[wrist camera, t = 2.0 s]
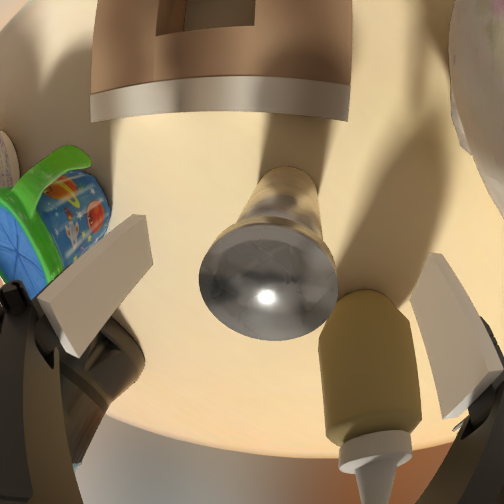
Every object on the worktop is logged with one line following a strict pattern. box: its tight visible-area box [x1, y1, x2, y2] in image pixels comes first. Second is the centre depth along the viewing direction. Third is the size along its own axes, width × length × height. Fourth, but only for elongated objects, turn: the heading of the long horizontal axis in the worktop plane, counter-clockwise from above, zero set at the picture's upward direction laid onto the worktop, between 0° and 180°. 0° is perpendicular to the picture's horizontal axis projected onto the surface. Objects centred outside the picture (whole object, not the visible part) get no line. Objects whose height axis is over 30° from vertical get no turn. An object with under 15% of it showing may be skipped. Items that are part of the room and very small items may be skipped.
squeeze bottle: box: [318, 290, 422, 504], centre depth 16 cm, size 8×8×18 cm
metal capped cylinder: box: [199, 167, 338, 341], centre depth 15 cm, size 5×5×11 cm
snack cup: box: [0, 145, 111, 300], centre depth 19 cm, size 16×10×10 cm
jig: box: [90, 0, 352, 123], centre depth 12 cm, size 16×14×4 cm
